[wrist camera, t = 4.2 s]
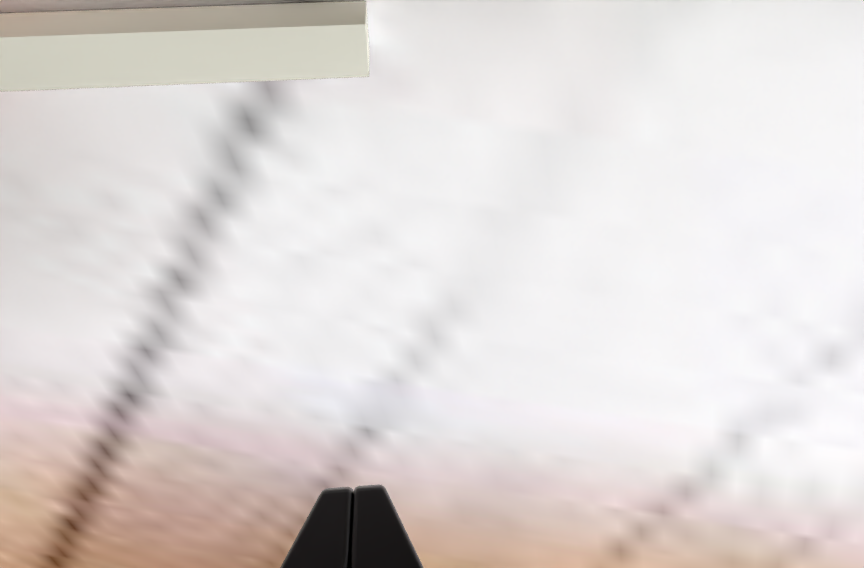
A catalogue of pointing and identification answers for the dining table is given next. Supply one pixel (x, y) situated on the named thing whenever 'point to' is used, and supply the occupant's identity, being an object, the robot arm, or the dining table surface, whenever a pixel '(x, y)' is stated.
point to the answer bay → (183, 45)
